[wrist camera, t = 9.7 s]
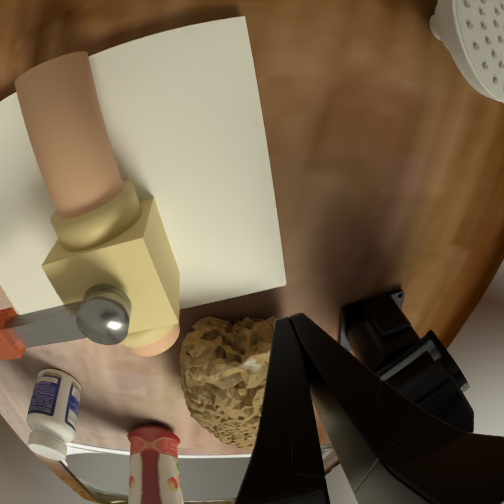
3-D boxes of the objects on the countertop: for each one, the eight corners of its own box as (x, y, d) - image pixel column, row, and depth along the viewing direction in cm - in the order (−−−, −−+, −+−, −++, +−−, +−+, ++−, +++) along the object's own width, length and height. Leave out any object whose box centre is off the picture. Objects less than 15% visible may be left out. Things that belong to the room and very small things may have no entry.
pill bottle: (34, 379, 26) (17, 446, 19) (45, 360, 25) (26, 435, 17) (73, 399, 29) (63, 466, 21) (89, 383, 27) (78, 457, 20)
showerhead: (468, -78, 5) (555, 28, 8) (399, -56, 11) (487, 20, 14) (441, 37, 9) (532, 134, 12) (363, 40, 15) (461, 108, 18)
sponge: (164, 306, 25) (194, 443, 32) (179, 365, 18) (212, 495, 25) (305, 280, 29) (293, 416, 36) (355, 321, 22) (322, 459, 30)
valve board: (283, 276, 24) (305, 332, 19) (38, 328, 23) (20, 379, 18) (242, 19, 14) (263, -5, 9) (-54, 142, 13) (-104, 171, 8)
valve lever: (119, 276, 14) (112, 304, 12) (140, 314, 15) (136, 343, 14) (-33, 316, 13) (-45, 337, 12) (-12, 343, 15) (-22, 364, 13)
